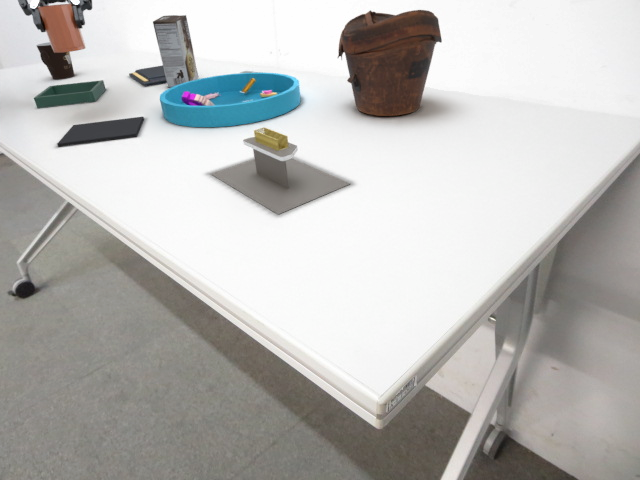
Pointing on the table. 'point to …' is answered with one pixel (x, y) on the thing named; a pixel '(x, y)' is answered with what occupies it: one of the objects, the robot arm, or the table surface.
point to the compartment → (70, 94)
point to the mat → (102, 131)
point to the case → (389, 59)
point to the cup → (62, 28)
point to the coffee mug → (56, 61)
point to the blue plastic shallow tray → (230, 99)
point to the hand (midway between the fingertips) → (60, 27)
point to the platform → (277, 174)
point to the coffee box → (175, 49)
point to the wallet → (150, 76)
